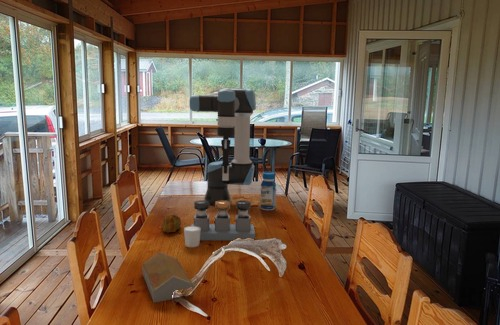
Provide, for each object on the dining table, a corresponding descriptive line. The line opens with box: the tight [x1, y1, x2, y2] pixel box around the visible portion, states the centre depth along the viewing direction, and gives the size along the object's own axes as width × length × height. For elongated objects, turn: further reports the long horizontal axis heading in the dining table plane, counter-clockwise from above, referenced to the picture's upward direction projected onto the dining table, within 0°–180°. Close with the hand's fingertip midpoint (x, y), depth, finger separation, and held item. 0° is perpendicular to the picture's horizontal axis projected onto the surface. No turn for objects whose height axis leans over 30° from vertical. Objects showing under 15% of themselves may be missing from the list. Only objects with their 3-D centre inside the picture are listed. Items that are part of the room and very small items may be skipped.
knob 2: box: [235, 200, 252, 218], centre depth 169 cm, size 6×6×7 cm
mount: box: [190, 213, 256, 241], centre depth 170 cm, size 12×28×8 cm, turn 93°
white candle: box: [183, 225, 201, 248], centre depth 159 cm, size 7×7×7 cm
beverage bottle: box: [259, 171, 277, 211], centre depth 212 cm, size 8×8×20 cm
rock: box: [161, 213, 182, 234], centre depth 176 cm, size 11×8×10 cm
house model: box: [141, 251, 195, 304], centre depth 125 cm, size 20×12×8 cm, turn 24°
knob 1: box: [193, 199, 210, 218], centre depth 168 cm, size 6×6×7 cm
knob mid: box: [214, 200, 231, 218], centre depth 169 cm, size 6×6×7 cm
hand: (225, 180), depth 172 cm, fingers closed
